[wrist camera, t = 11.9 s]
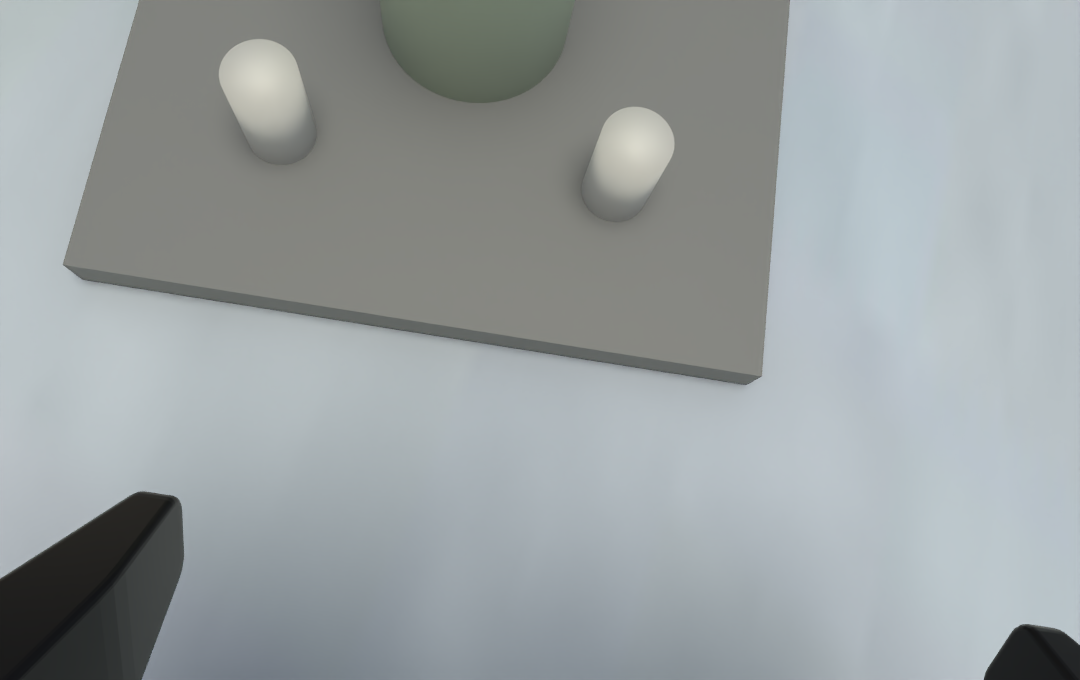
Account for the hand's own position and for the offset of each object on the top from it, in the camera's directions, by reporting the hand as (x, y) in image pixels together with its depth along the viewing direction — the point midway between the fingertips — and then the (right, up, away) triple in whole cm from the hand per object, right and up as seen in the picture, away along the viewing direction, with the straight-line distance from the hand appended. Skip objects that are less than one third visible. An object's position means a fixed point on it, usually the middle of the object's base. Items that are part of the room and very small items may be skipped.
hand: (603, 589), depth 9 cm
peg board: (-3, +11, +16) cm, 20 cm away
